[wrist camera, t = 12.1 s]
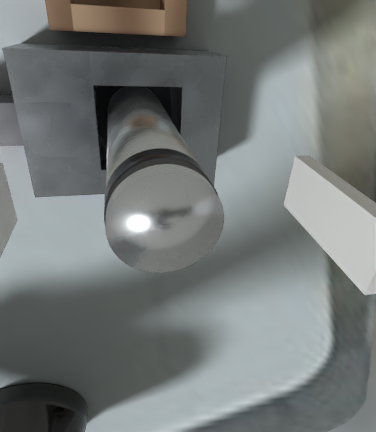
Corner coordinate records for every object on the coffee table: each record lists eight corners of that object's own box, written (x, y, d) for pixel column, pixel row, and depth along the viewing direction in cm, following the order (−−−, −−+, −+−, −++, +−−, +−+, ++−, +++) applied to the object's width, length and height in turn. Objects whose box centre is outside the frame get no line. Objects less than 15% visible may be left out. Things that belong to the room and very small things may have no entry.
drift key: (-19, 142, 26) (-39, 161, 22) (-35, 83, 24) (-61, 95, 20) (87, 140, 28) (84, 158, 24) (81, 85, 25) (77, 96, 22)
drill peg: (109, 140, 28) (109, 278, 13) (104, 83, 26) (98, 172, 11) (162, 139, 29) (218, 267, 14) (163, 84, 27) (231, 167, 12)
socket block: (45, 171, 28) (35, 197, 24) (21, 43, 23) (2, 47, 19) (199, 166, 31) (213, 188, 27) (208, 50, 26) (226, 56, 22)
